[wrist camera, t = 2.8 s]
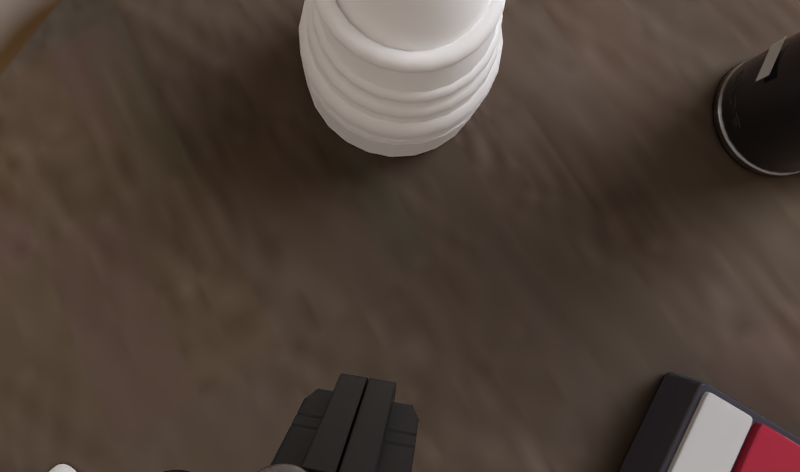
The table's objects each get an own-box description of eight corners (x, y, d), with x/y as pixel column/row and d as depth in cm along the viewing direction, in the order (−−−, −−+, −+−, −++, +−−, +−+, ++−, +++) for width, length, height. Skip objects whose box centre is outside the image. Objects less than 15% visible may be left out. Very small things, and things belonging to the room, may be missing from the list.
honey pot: (267, 58, 36) (185, -160, 18) (401, -50, 38) (447, -346, 20) (388, 193, 36) (426, 109, 18) (517, 80, 38) (668, -100, 20)
